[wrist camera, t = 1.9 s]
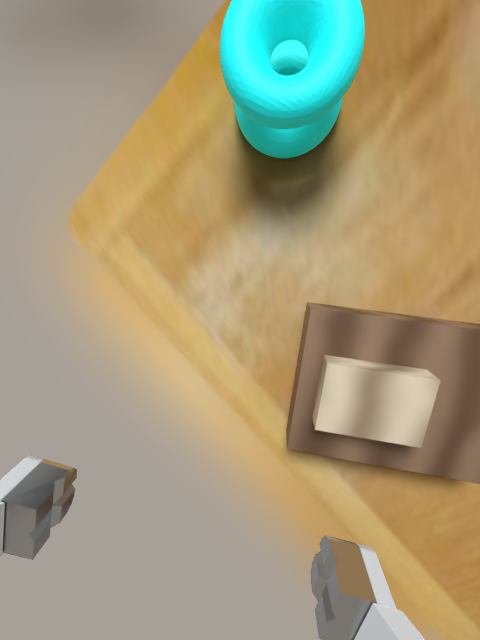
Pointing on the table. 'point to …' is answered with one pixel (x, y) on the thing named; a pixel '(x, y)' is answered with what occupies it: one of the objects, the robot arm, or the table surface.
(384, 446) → the walnut board
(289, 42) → the donuts
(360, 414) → the cream block
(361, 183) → the table surface
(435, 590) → the table surface
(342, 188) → the table surface
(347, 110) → the table surface
